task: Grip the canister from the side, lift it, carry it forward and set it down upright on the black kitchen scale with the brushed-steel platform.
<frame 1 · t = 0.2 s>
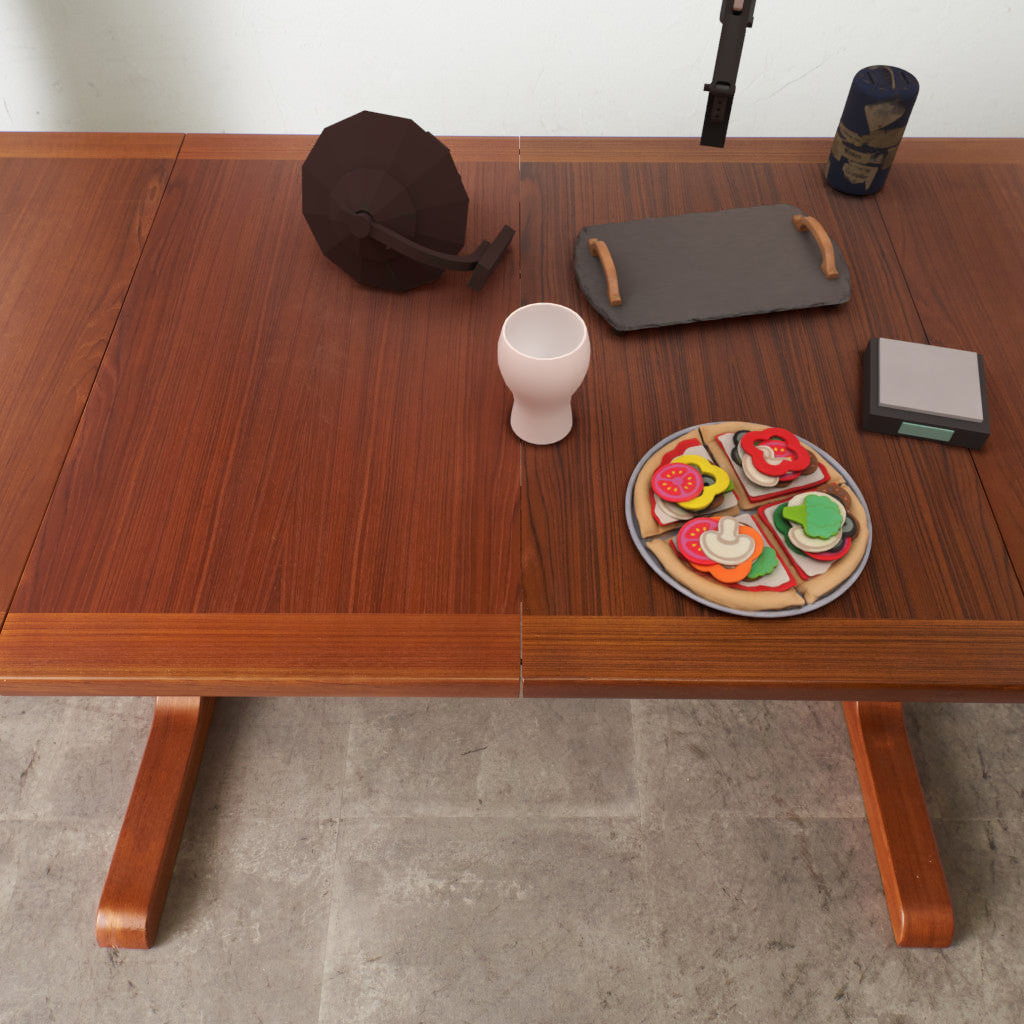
hand: (718, 114, 106), 27 cm above the table, tool pointing down, fingers open, 13 cm apart
scale: (919, 400, 114), on the table
serving tray: (706, 278, 129), on the table
canister: (852, 183, 143), on the table
toy pizza: (744, 518, 103), on the table
cup: (541, 422, 112), on the table
dark brown piece: (423, 257, 132), on the table
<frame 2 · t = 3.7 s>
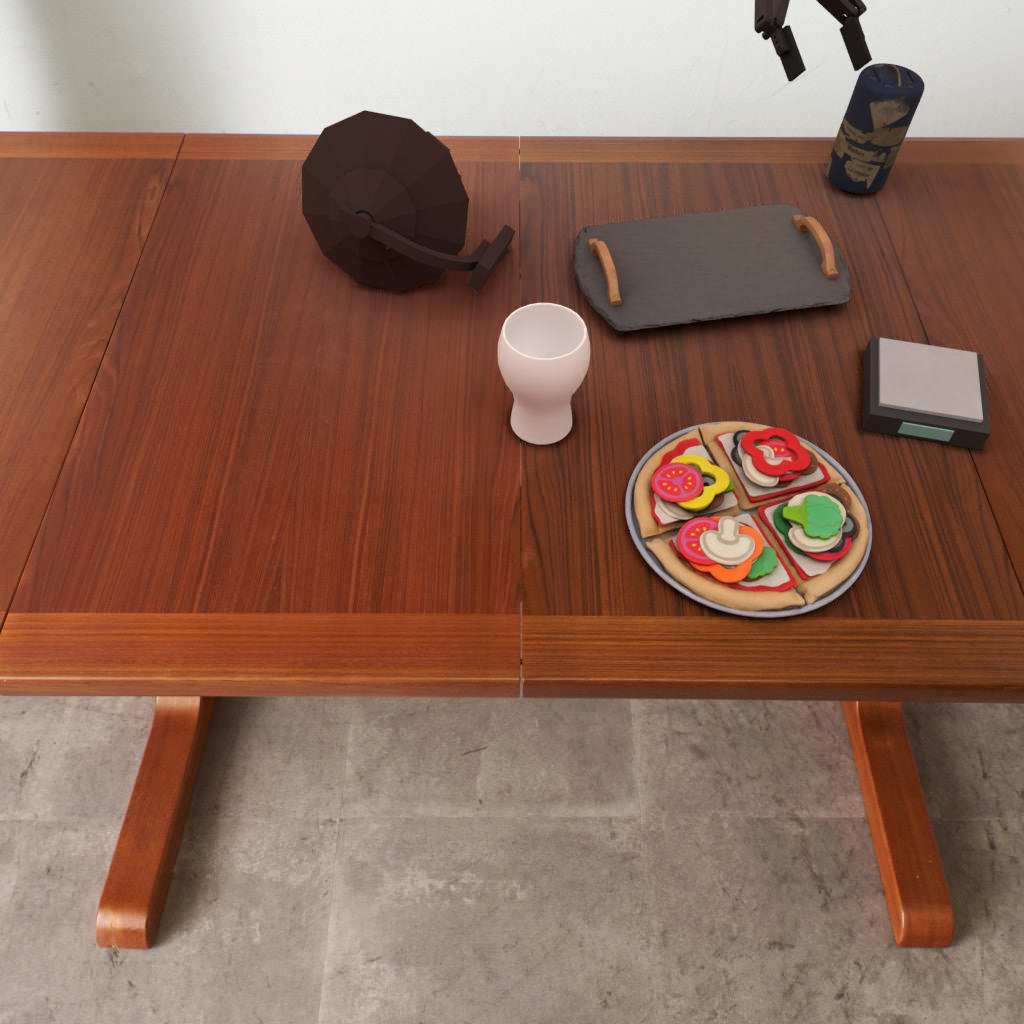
hand: (831, 70, 127), 19 cm above the table, tool tilted 55°, fingers open, 13 cm apart
canister: (852, 182, 143), on the table, touching gripper
everything else where it was.
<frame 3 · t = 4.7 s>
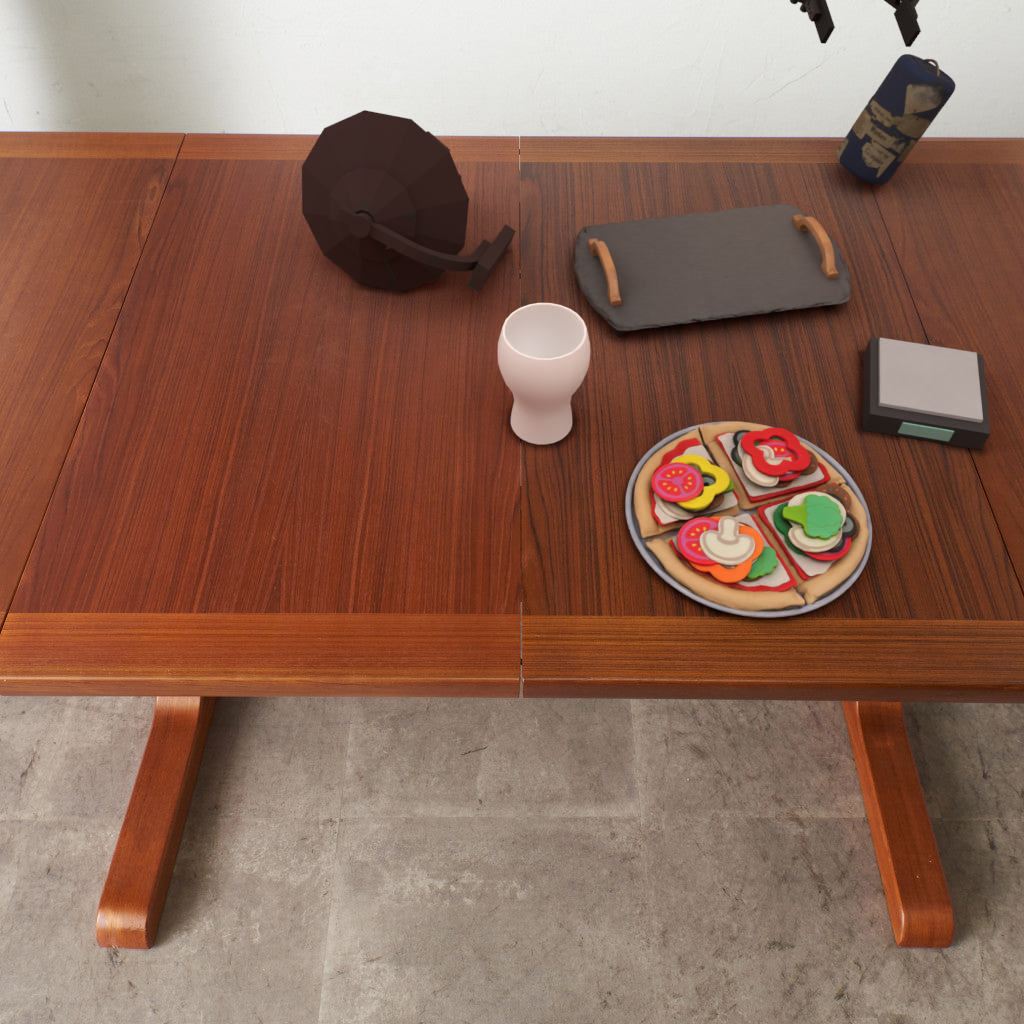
hand: (871, 37, 129), 21 cm above the table, tool tilted 75°, fingers open, 13 cm apart
canister: (857, 173, 142), point 2 cm above the table
everything else where it was.
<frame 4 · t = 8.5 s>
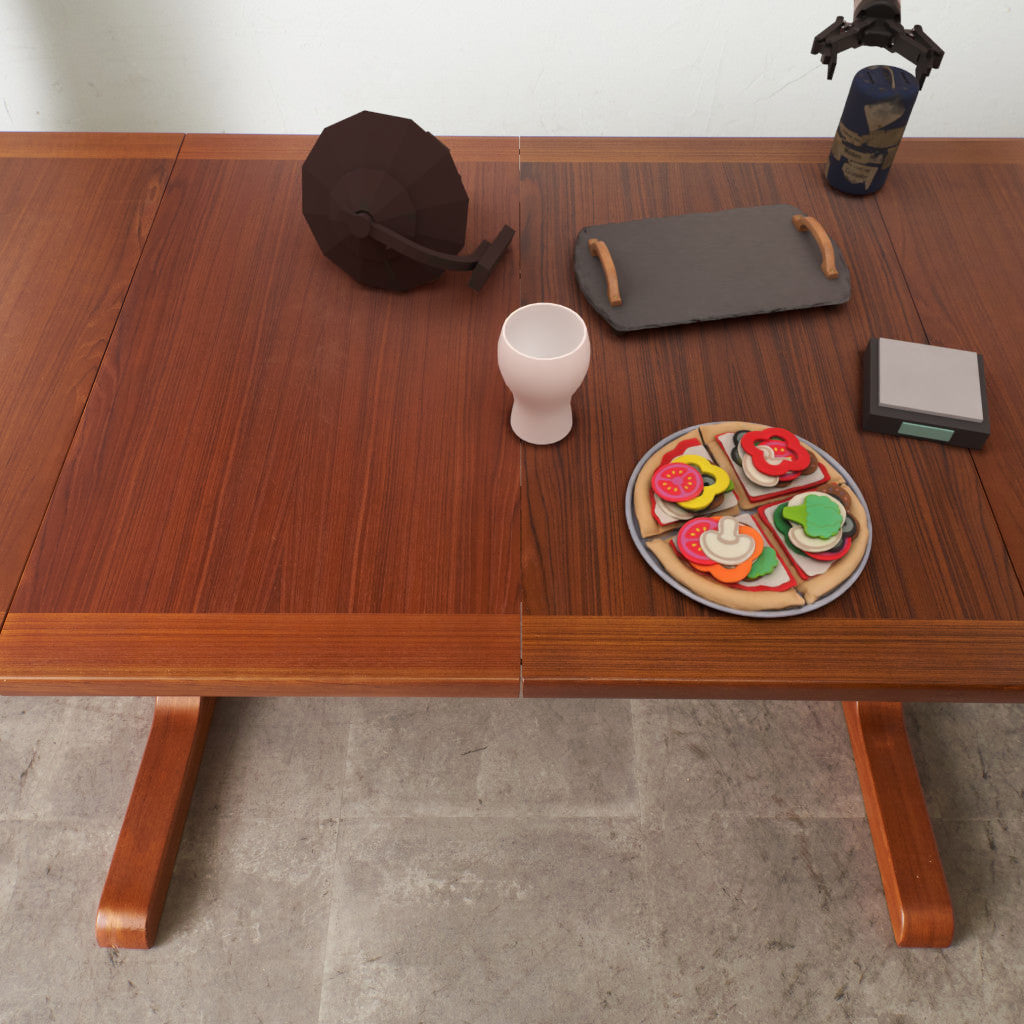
hand: (876, 76, 140), 12 cm above the table, tool horizontal, fingers open, 13 cm apart
canister: (852, 183, 143), on the table
everything else where it was.
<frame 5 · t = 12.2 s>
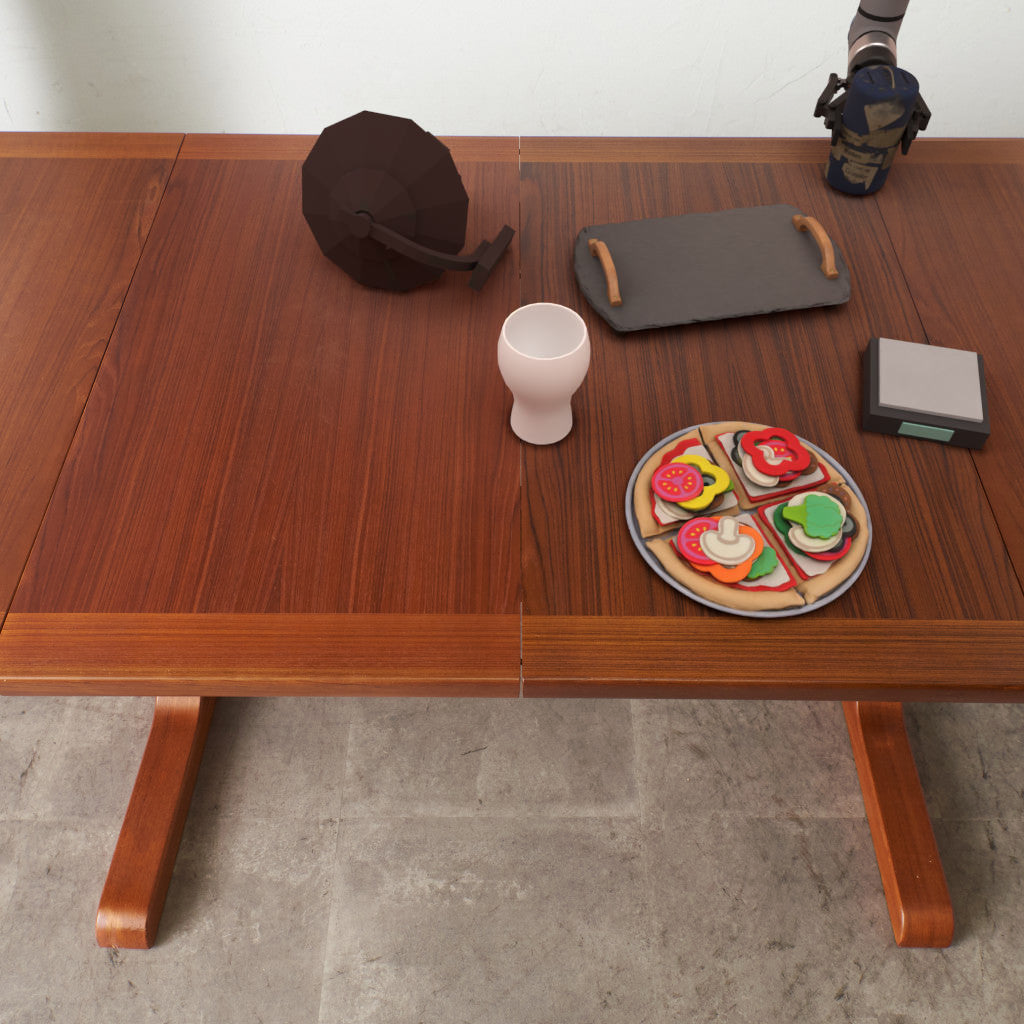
hand: (871, 142, 133), 9 cm above the table, tool horizontal, fingers closed on canister, 9 cm apart
canister: (852, 183, 143), on the table, touching gripper
everything else where it was.
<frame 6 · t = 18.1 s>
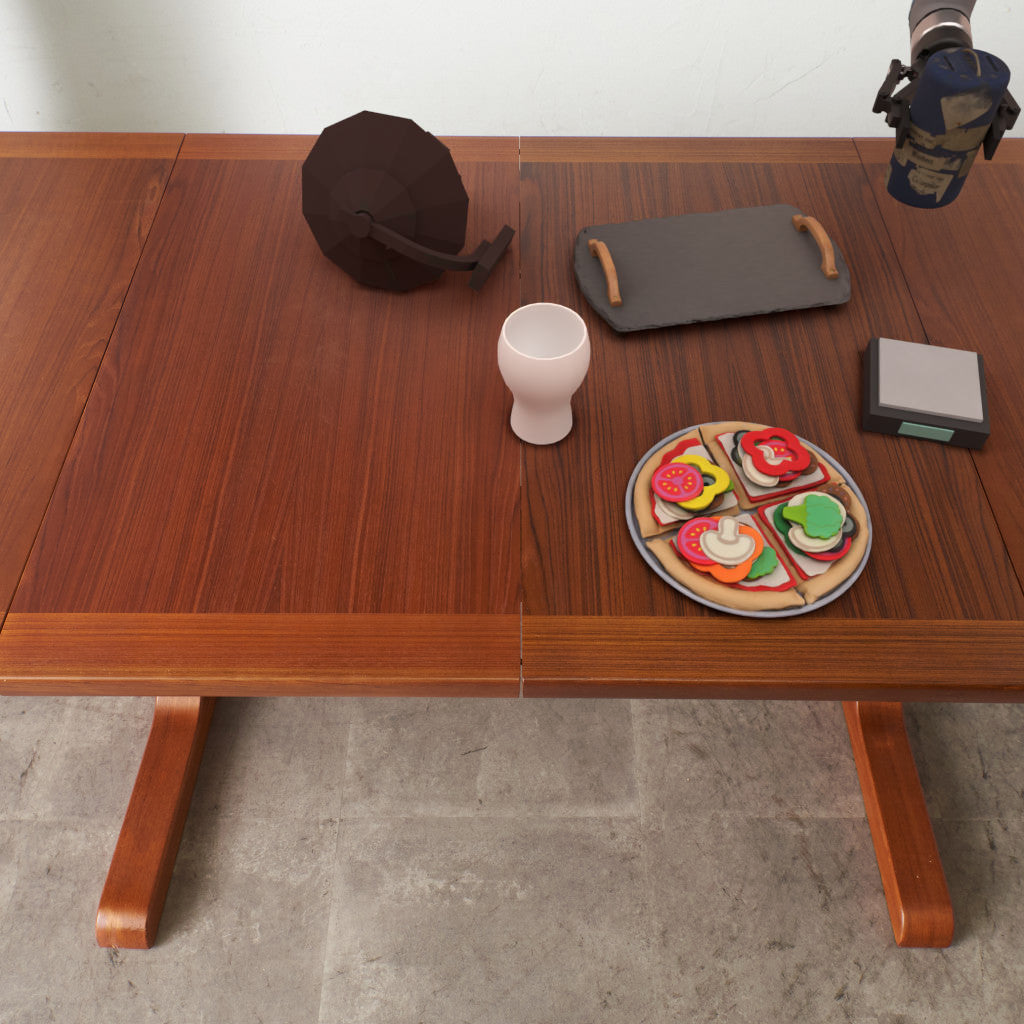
hand: (947, 143, 107), 24 cm above the table, tool horizontal, fingers closed on canister, 9 cm apart
canister: (917, 194, 117), point 14 cm above the table, touching gripper
everything else where it was.
when the fingers open (13 cm above the table, at t = 24.5 s): canister stays where it is, resting on scale.
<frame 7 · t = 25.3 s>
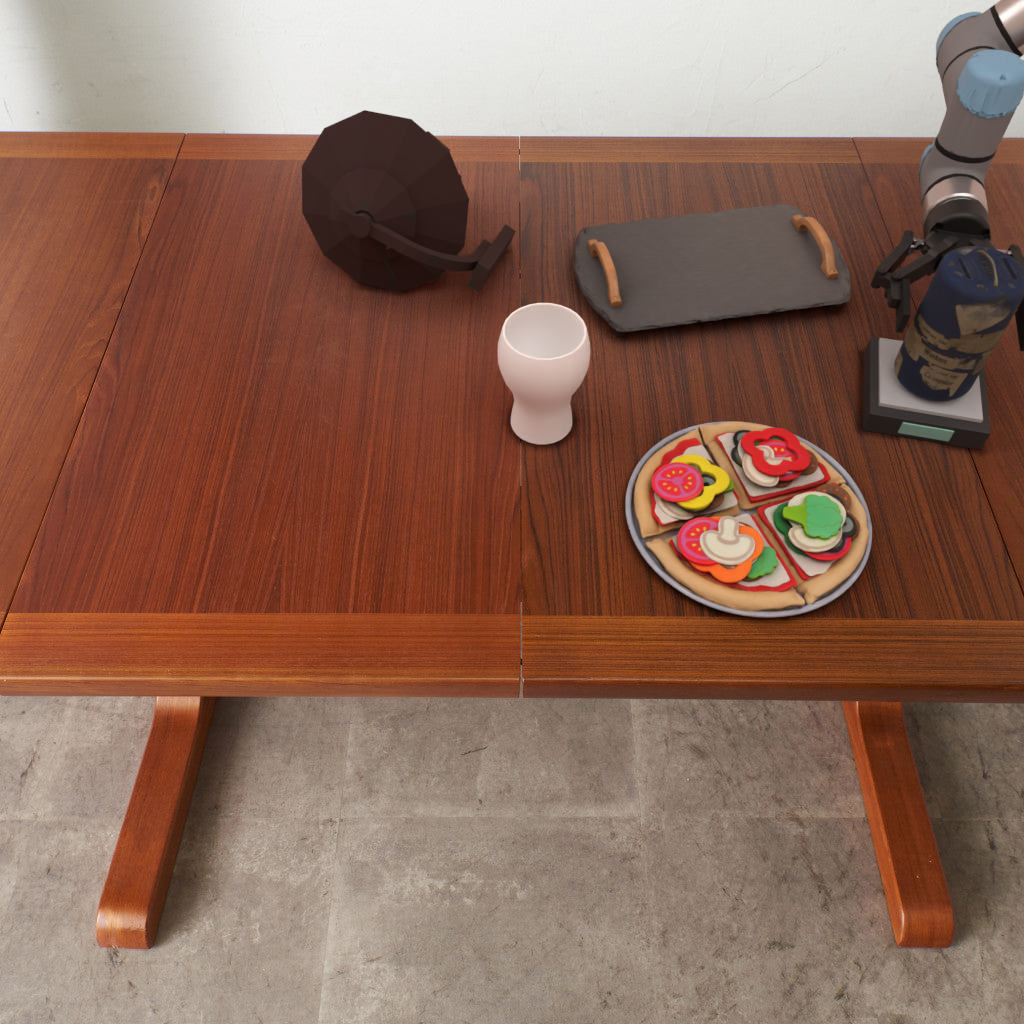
hand: (965, 333, 102), 14 cm above the table, tool horizontal, fingers open, 13 cm apart
canister: (928, 380, 112), point 3 cm above the table, touching scale
everything else where it was.
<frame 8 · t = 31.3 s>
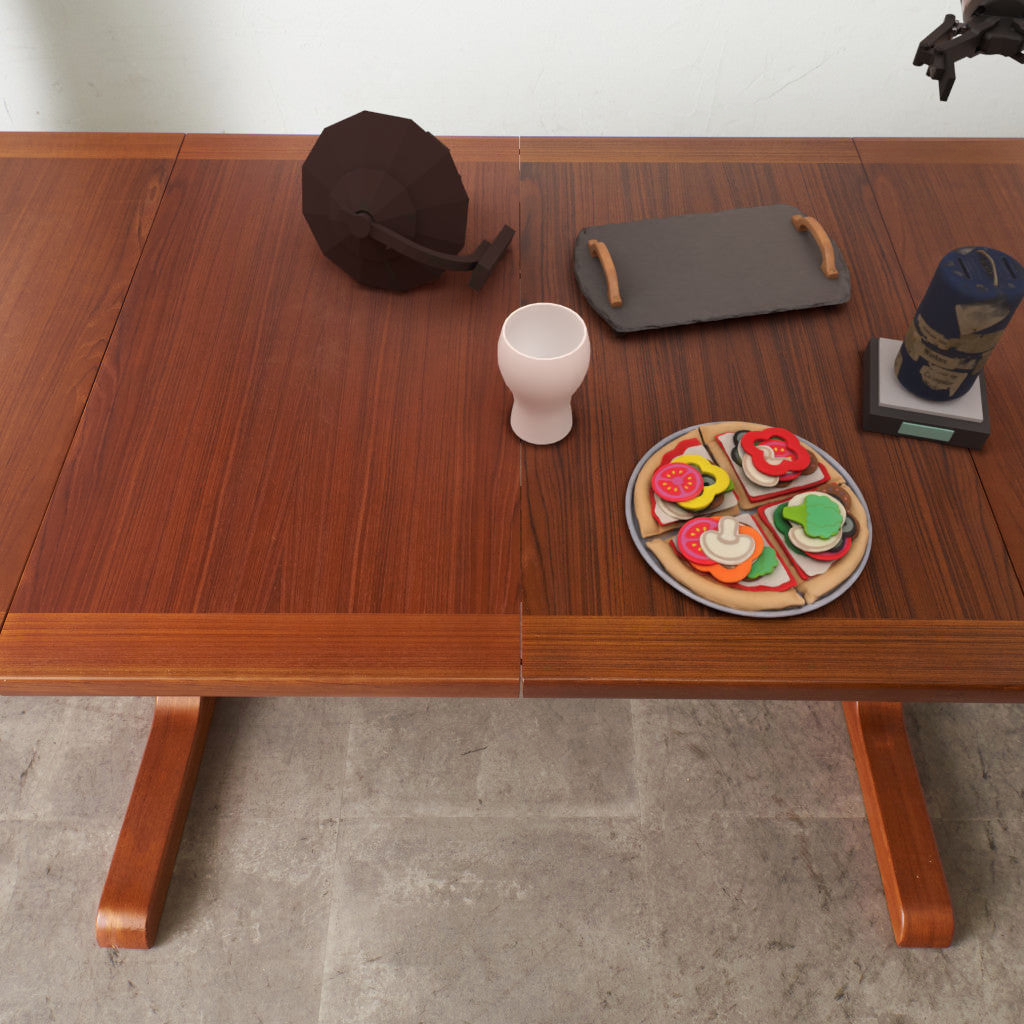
hand: (1010, 97, 101), 30 cm above the table, tool horizontal, fingers open, 13 cm apart
nothing on the table moved.
at the end: canister inside the target area on the scale (0.5 cm from its centre), point 3.4 cm above the scale's base; canister tilted 0°; the gripper is holding nothing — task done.
